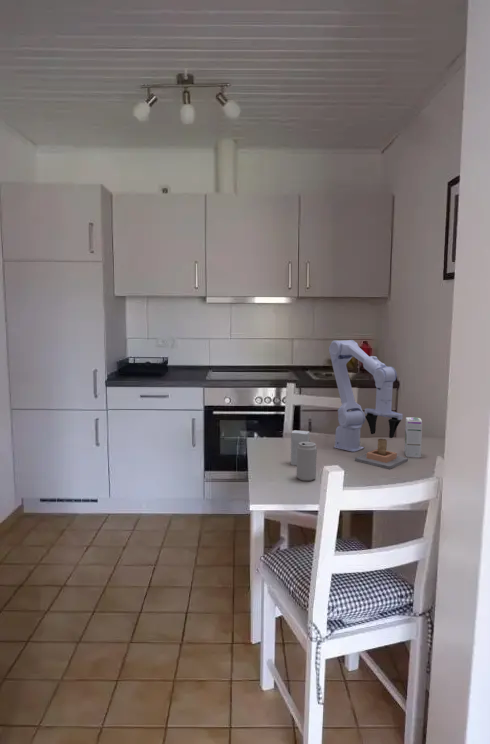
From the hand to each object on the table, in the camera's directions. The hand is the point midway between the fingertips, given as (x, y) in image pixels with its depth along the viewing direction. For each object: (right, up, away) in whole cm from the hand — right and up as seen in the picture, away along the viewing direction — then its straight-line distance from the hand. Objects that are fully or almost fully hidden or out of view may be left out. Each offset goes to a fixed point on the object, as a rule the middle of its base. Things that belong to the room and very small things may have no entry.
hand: (382, 435), depth 191 cm
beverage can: (-31, -12, -20) cm, 39 cm away
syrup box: (+14, -9, +8) cm, 18 cm away
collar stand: (0, -9, 0) cm, 9 cm away
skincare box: (-31, -10, -5) cm, 33 cm away
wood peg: (0, -8, 0) cm, 8 cm away
